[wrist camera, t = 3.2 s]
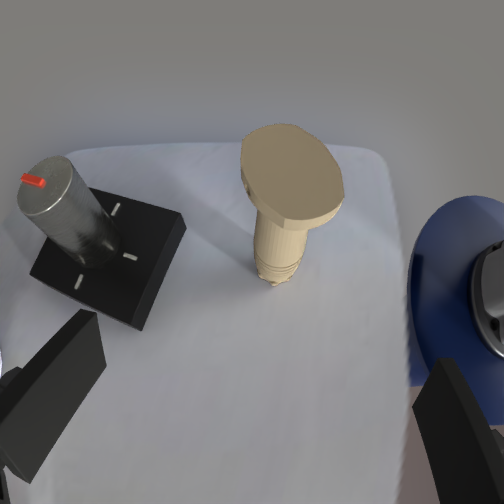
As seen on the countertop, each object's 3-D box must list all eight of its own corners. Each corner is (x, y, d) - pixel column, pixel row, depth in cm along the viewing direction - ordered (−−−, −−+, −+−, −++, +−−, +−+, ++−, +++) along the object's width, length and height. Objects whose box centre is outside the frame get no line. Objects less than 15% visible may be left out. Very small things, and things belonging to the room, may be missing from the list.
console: (186, 228, 32) (180, 211, 29) (141, 331, 28) (129, 324, 25) (88, 198, 33) (77, 183, 31) (44, 284, 29) (28, 273, 26)
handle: (284, 232, 31) (303, 116, 18) (313, 291, 29) (362, 201, 15) (237, 250, 31) (225, 137, 17) (264, 311, 28) (274, 233, 15)
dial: (130, 228, 28) (83, 157, 19) (106, 277, 26) (44, 220, 17) (90, 215, 29) (39, 149, 20) (66, 260, 27) (4, 204, 18)
